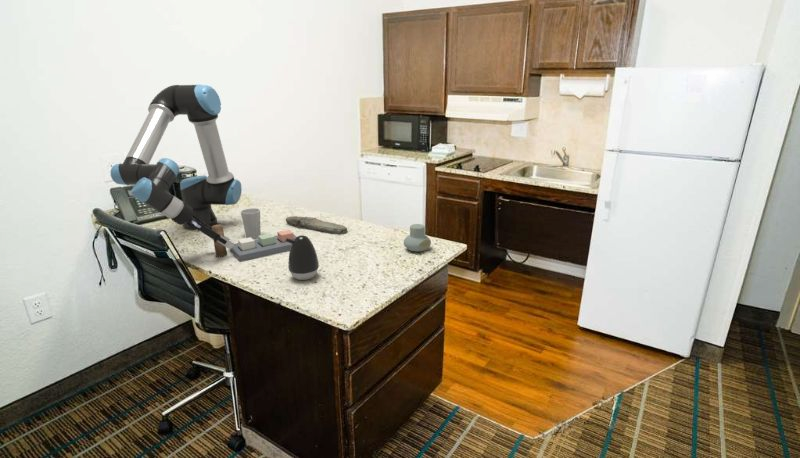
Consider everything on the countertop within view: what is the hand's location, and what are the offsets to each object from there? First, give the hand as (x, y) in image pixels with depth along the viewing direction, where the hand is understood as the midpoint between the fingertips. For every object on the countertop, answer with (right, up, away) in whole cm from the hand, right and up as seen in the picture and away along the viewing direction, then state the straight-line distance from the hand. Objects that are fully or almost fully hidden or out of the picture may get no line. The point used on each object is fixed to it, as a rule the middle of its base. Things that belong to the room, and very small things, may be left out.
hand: (229, 244), depth 169 cm
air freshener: (+74, -3, +5) cm, 74 cm away
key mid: (+13, 0, +5) cm, 14 cm away
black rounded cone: (+34, -11, -20) cm, 41 cm away
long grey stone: (+28, +6, +32) cm, 43 cm away
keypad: (+13, -2, +6) cm, 14 cm away
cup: (+3, +2, +19) cm, 20 cm away
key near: (+7, -1, 0) cm, 7 cm away
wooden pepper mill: (-3, -4, -1) cm, 5 cm away
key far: (+20, +2, +9) cm, 22 cm away
